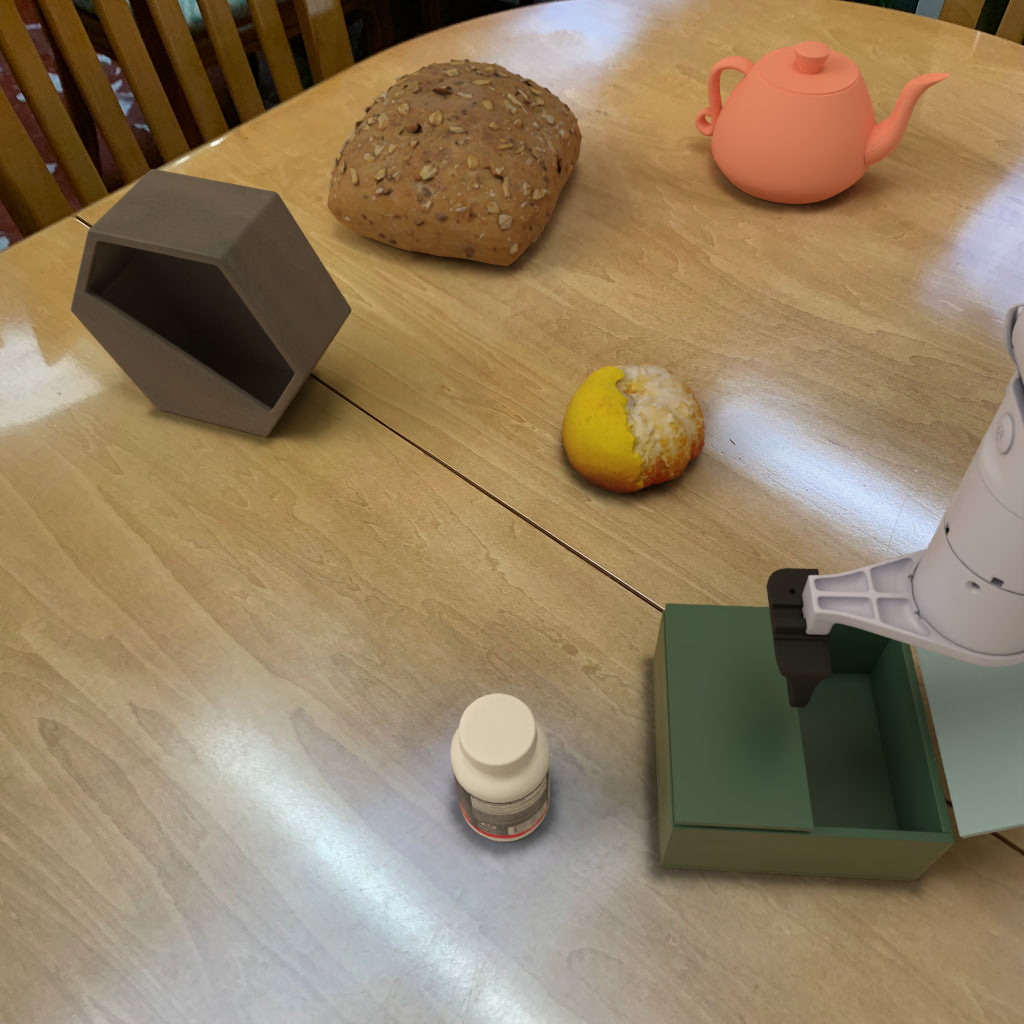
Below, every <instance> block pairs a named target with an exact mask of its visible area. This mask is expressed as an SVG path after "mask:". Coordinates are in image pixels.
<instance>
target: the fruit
mask: <svg viewBox="0 0 1024 1024" xmlns="http://www.w3.org/2000/svg"><path fill="white" fill-rule="evenodd" d="M705 421H706V419H705V417H704V414H703V411H702V408H701V406H700V404H699V396H697V397H695V393H694V391H693V389H692V388H691V387H690V386H689V385H688V384H687V383H686V382H685V381H684V380H683V379H681V378H679V377H678V376H677V375H674V374H673V372H672V371H671V370H670V369H669V368H667V367H663V366H659V365H658V364H657V363H655V362H643V363H641V364H639V365H632V364H622V363H621V364H618V365H616V366H614V365H606V366H602V367H601V368H598V369H596V370H594V371H593V372H592V373H591V374H589V375H588V376H587V377H586V379H585V380H584V381H583V382H582V383H581V384H580V386H579V387H578V388H577V389H576V390H575V392H574V393H573V395H572V397H571V399H570V401H569V403H568V406H567V408H566V411H565V413H564V417H563V421H562V425H561V426H562V427H561V442H562V445H563V448H564V451H565V454H566V456H567V460H568V461H569V464H570V465H571V467H572V468H573V469H574V470H575V471H576V472H577V473H578V474H579V475H580V476H581V477H582V478H583V480H585V481H586V482H589V483H590V485H593V486H595V487H598V488H600V489H602V490H605V491H611V492H614V493H615V492H616V493H617V494H619V495H621V494H623V495H625V494H627V493H633V492H637V491H639V490H642V489H644V488H647V487H649V486H651V485H661V484H663V483H664V482H667V481H671V480H673V479H676V478H678V477H679V476H680V475H685V472H684V471H685V470H686V468H687V466H688V464H689V462H691V461H693V460H694V459H696V458H697V457H698V456H699V455H700V454H701V452H702V450H703V447H704V446H705V445H706V443H705V439H706V438H705V437H706V425H705V424H706V423H705Z"/></svg>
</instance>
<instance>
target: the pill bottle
mask: <svg viewBox="0 0 1024 1024" xmlns="http://www.w3.org/2000/svg"><path fill="white" fill-rule="evenodd" d="M449 756H450V766H451V770H452V773H453V778H454V782H455V788H456V792H457V798H458V803H459V807H460V810H461V813H462V816H463V818H464V819H465V822H467V824H468V826H469V827H470V828H471V829H472V830H473V831H474V832H475V833H477V834H478V835H480V836H482V837H483V838H486V839H488V840H490V841H494V842H504V843H505V842H513V841H518V840H520V839H523V838H525V837H527V836H529V835H530V834H532V833H533V832H534V831H535V830H536V829H538V827H539V826H540V825H541V824H542V822H543V821H544V819H545V818H546V815H547V812H548V810H549V806H550V799H551V798H550V796H551V746H550V741H549V738H548V735H547V732H546V731H545V728H544V727H543V725H542V724H541V723H540V721H539V720H538V719H537V718H536V717H535V716H534V714H533V712H532V711H531V709H530V708H529V707H528V705H527V704H526V703H524V701H522V700H521V699H520V698H518V697H516V696H513V695H510V694H507V693H501V692H500V693H499V692H498V693H490V694H485V695H483V696H480V697H479V698H477V699H474V701H473V702H471V703H469V705H468V706H467V707H466V708H465V710H464V712H463V713H462V715H461V718H460V720H459V724H458V727H457V729H456V730H455V732H454V734H453V737H452V740H451V743H450V755H449Z"/></svg>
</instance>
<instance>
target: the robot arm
mask: <svg viewBox="0 0 1024 1024" xmlns="http://www.w3.org/2000/svg"><path fill="white" fill-rule="evenodd" d="M1002 334H1003V340H1004V344H1005V348H1006V350H1007V353H1008V355H1009V358H1010V359H1011V361H1012V362H1013V363H1014V364H1013V365H1014V371H1013V374H1012V376H1011V378H1010V379H1009V382H1008V384H1007V386H1006V388H1005V389H1004V392H1005V395H1004V397H1003V399H1002V401H1001V402H1000V404H999V407H998V408H997V410H996V413H995V414H994V416H993V418H992V420H991V422H990V424H989V425H988V428H987V429H986V432H985V434H984V435H983V437H982V440H981V441H980V443H979V445H978V448H977V449H976V452H975V453H974V455H973V457H972V459H971V461H970V462H969V465H968V466H967V469H966V471H965V473H964V475H963V476H962V478H961V481H960V482H959V484H958V487H957V489H956V491H955V492H954V494H953V496H952V498H951V500H950V501H949V504H948V507H947V509H946V510H945V512H944V514H943V515H942V518H941V520H940V522H939V524H938V526H937V528H936V530H935V532H934V534H933V536H932V538H931V539H930V541H929V544H928V545H927V548H923V549H920V550H916V551H914V552H910V553H907V554H903V555H900V556H896V557H893V558H889V559H886V560H882V561H879V562H876V563H873V564H868V565H865V566H861V567H859V568H855V569H852V570H848V571H843V572H839V573H831V574H820V572H819V568H799V567H797V568H796V567H795V568H794V567H784V568H783V567H782V568H779V569H776V570H775V571H773V572H772V573H771V574H770V575H769V576H768V579H767V582H766V593H767V594H766V595H767V603H768V607H769V610H770V618H771V626H772V634H773V642H774V650H775V658H776V662H777V665H778V668H779V671H780V674H781V675H782V676H784V677H786V681H787V689H788V697H789V704H790V706H791V707H797V708H804V707H806V706H807V705H808V703H809V701H810V699H811V696H812V694H813V691H814V689H815V688H816V686H817V685H818V684H819V683H820V682H821V681H822V680H824V679H826V678H829V677H833V674H832V668H831V662H830V656H829V650H828V642H829V640H830V636H829V634H828V633H829V632H830V630H831V628H832V626H833V625H834V624H835V623H839V624H844V625H848V626H852V627H855V628H859V629H862V630H865V631H868V632H872V633H875V634H878V635H881V636H884V637H887V638H891V639H894V640H897V641H900V642H903V643H907V644H910V646H913V647H915V648H916V647H919V648H922V649H926V650H929V651H932V652H935V653H938V654H941V655H945V656H948V657H951V658H954V659H957V660H960V661H964V662H967V663H971V664H975V665H980V666H987V667H1004V666H1011V665H1015V664H1019V663H1022V662H1024V302H1021V303H1019V302H1018V303H1013V304H1011V305H1010V306H1009V307H1008V308H1007V311H1006V313H1005V316H1004V321H1003V327H1002Z"/></svg>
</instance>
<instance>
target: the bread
mask: <svg viewBox="0 0 1024 1024" xmlns="http://www.w3.org/2000/svg"><path fill="white" fill-rule="evenodd" d="M394 80H395V83H394V84H391V86H389V87H388V89H387V91H385V92H384V91H380V92H379V95H378V96H377V95H376V96H374V97H373V102H372V103H370V104H368V105H367V106H365V107H364V108H363V109H362V111H364V113H365V114H364V116H363V117H362V118H361V119H359V120H357V121H355V124H354V129H352V130H351V133H350V134H349V136H348V137H347V138H346V140H345V141H344V142H343V144H342V146H341V147H340V150H339V154H340V156H339V158H338V157H335V156H334V157H333V160H332V166H331V171H330V173H329V176H330V177H331V179H330V181H329V183H328V185H327V187H328V194H327V204H326V206H327V208H328V209H329V211H330V212H331V214H332V215H333V216H334V217H335V219H336V220H337V221H338V223H340V224H342V225H343V226H344V227H345V228H346V229H348V230H350V231H352V232H355V233H357V234H359V235H361V236H364V237H366V238H369V239H372V240H375V241H378V242H380V243H383V244H386V245H388V246H391V247H394V248H398V249H401V250H405V251H409V252H417V253H421V254H422V253H423V254H426V255H432V256H437V257H448V258H456V259H464V260H469V261H475V262H479V263H483V264H484V263H485V264H487V265H496V266H505V267H508V266H510V265H512V264H513V263H514V262H515V261H517V259H518V258H520V256H522V254H523V253H524V252H525V251H526V250H527V248H529V246H530V245H531V244H532V243H536V242H537V241H538V240H537V239H539V238H541V237H542V235H541V233H542V232H543V231H544V229H545V227H546V225H547V223H548V222H549V221H550V219H551V216H552V214H553V213H554V209H555V207H556V205H557V202H558V199H559V196H560V193H561V191H562V190H563V188H564V187H565V185H566V183H567V181H568V179H569V178H570V176H571V174H572V172H573V170H574V168H575V165H576V163H577V161H578V159H579V156H580V154H581V147H582V146H581V145H582V139H583V136H582V132H581V130H580V126H579V124H578V121H579V118H577V117H576V115H575V113H574V111H573V110H571V109H570V106H568V104H567V103H565V102H563V101H561V100H560V97H559V96H558V95H555V94H554V93H552V92H551V90H549V88H548V87H545V86H541V85H540V84H538V83H537V82H536V81H534V80H533V79H531V78H527V77H526V78H524V77H522V75H521V74H520V73H514V72H511V71H509V70H507V68H506V67H505V66H503V65H500V64H499V63H497V62H494V63H490V62H486V61H483V62H478V61H471V60H470V59H468V58H462V59H454V58H450V61H448V62H442V63H441V62H438V63H437V62H432V63H430V64H428V65H427V66H425V65H424V66H422V67H421V68H419V69H418V70H416V71H413V72H412V73H409V74H408V73H404V74H403V75H400V76H398V77H396V78H394Z"/></svg>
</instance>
